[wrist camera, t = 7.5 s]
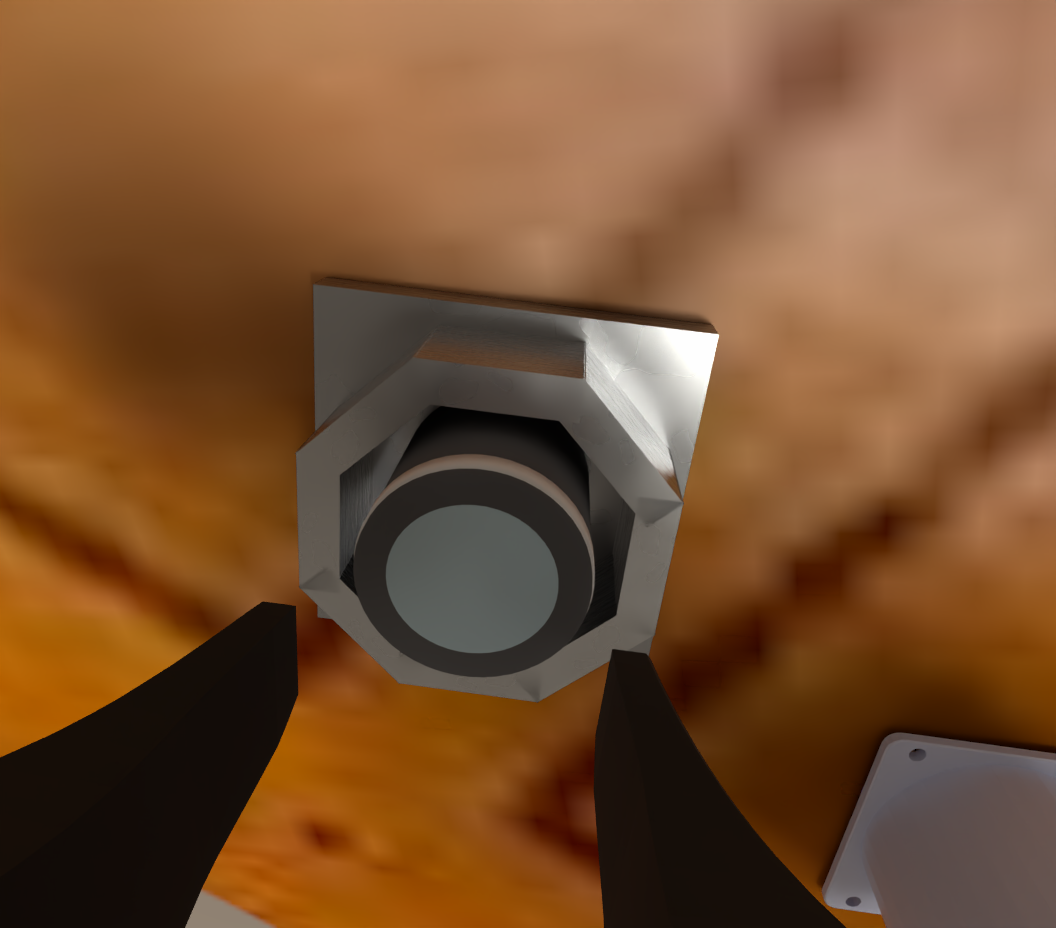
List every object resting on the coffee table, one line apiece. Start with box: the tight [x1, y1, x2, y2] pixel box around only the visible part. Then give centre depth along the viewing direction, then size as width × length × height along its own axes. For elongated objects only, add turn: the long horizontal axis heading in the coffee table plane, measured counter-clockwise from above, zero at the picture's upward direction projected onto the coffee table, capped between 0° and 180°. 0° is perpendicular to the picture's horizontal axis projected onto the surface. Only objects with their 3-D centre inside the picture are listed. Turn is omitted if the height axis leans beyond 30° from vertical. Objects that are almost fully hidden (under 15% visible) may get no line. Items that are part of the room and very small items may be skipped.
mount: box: [296, 277, 719, 702], centre depth 19 cm, size 10×10×4 cm
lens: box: [353, 406, 595, 677], centre depth 18 cm, size 5×5×5 cm
